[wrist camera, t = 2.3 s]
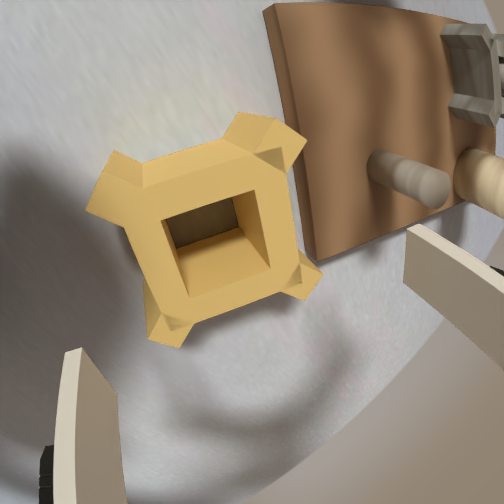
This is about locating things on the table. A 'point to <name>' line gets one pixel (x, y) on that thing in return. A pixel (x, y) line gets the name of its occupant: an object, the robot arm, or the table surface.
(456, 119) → the board
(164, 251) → the tan notched block
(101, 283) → the table surface
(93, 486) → the robot arm
